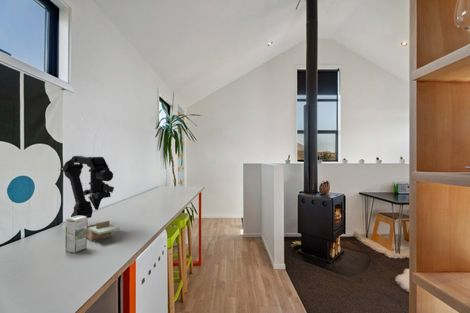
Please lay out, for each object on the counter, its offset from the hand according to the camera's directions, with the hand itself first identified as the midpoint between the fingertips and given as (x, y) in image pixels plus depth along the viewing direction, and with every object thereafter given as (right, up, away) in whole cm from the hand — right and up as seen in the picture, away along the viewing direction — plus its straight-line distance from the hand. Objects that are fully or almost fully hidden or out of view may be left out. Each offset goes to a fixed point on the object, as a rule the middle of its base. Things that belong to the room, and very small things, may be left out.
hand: (96, 209), depth 126 cm
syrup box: (+4, -13, -22) cm, 25 cm away
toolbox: (+2, -13, -4) cm, 14 cm away
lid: (+9, -8, -9) cm, 15 cm away
